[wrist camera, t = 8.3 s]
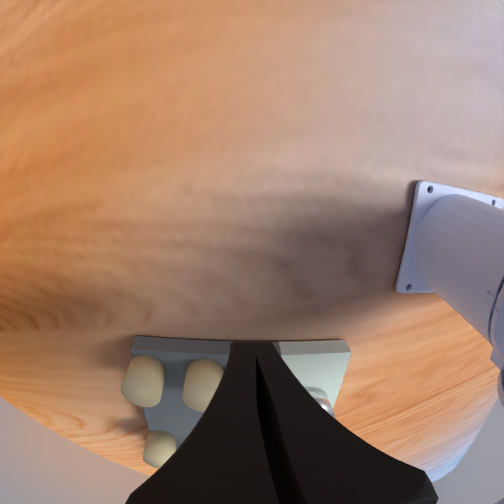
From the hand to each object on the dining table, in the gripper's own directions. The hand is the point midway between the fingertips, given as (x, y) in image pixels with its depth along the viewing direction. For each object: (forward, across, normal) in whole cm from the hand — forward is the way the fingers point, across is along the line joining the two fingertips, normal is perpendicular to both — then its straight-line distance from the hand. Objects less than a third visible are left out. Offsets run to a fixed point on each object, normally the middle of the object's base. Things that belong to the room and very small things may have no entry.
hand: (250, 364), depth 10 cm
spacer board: (+9, 0, +14) cm, 16 cm away
